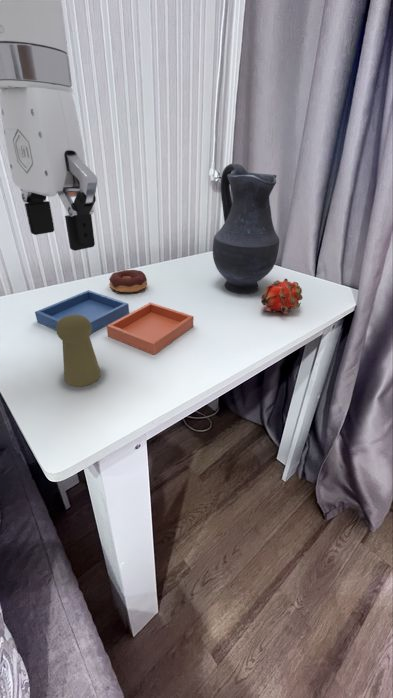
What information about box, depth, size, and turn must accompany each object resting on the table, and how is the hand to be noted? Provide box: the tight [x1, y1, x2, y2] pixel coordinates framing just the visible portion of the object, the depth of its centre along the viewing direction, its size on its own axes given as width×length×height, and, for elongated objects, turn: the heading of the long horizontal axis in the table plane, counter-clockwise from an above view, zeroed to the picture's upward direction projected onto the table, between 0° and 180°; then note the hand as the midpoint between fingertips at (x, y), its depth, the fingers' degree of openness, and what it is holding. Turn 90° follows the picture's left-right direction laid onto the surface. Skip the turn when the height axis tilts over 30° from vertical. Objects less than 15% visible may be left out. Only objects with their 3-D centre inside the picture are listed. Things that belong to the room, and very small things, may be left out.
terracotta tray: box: [106, 302, 195, 356], centre depth 70 cm, size 14×12×2 cm
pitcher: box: [212, 163, 280, 295], centre depth 87 cm, size 17×21×30 cm
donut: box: [108, 269, 148, 293], centre depth 89 cm, size 10×10×4 cm
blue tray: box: [34, 289, 130, 334], centre depth 74 cm, size 15×13×2 cm
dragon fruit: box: [260, 278, 304, 315], centre depth 80 cm, size 8×8×12 cm
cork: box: [55, 315, 102, 388], centre depth 54 cm, size 6×6×11 cm
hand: (61, 240), depth 44 cm, fingers open, 9 cm apart
